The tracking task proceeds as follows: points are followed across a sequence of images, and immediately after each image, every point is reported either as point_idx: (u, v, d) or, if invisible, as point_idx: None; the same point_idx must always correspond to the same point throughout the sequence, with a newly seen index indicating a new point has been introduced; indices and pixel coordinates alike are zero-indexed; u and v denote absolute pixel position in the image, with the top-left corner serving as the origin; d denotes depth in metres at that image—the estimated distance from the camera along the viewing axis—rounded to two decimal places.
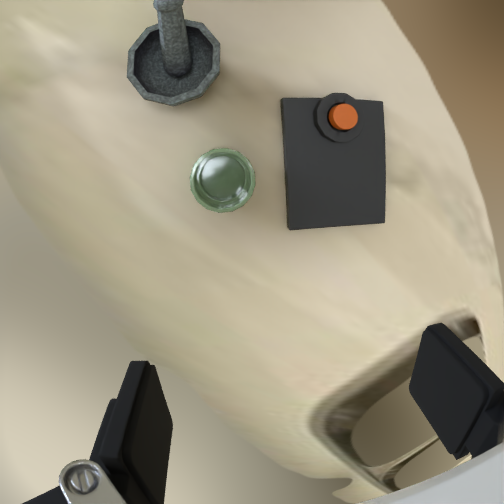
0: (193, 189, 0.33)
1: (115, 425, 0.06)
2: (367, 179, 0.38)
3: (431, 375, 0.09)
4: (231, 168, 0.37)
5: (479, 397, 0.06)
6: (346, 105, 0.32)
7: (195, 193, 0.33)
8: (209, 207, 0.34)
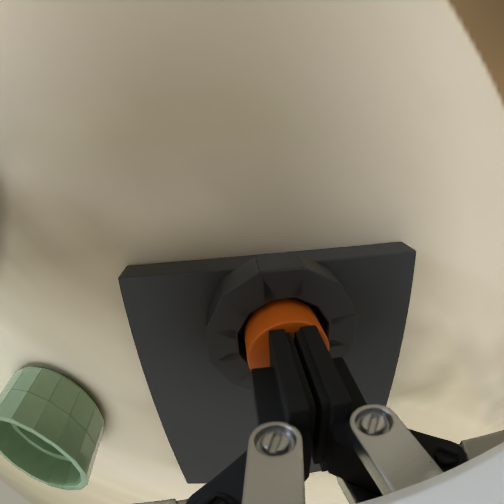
0: (1, 453, 0.12)
1: (290, 383, 0.08)
2: None
3: None
4: None
5: None
6: (294, 326, 0.11)
7: (7, 458, 0.12)
8: (34, 477, 0.12)
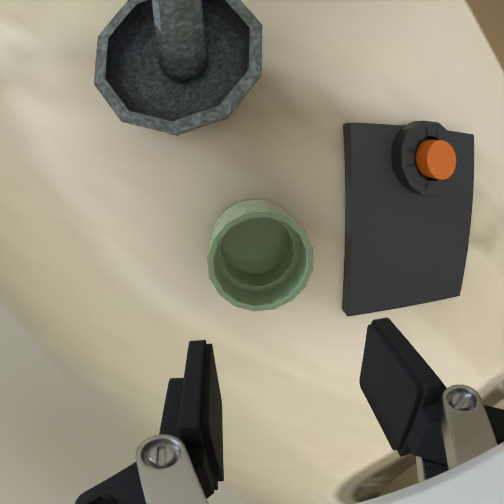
0: (213, 277, 0.21)
1: (189, 398, 0.07)
2: (449, 243, 0.25)
3: (375, 369, 0.10)
4: (268, 230, 0.25)
5: (414, 393, 0.07)
6: (443, 143, 0.20)
7: (216, 283, 0.21)
8: (239, 303, 0.21)
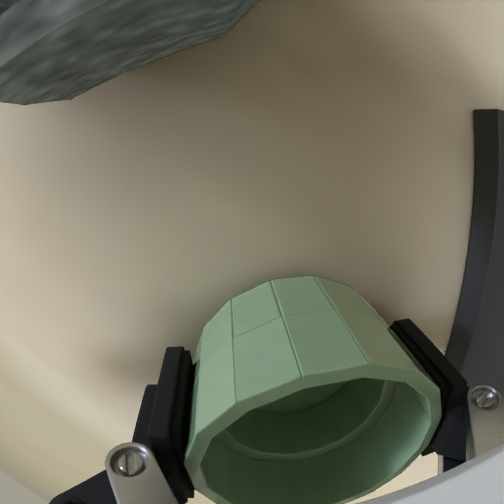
0: (203, 488, 0.07)
1: (160, 407, 0.07)
2: None
3: None
4: None
5: None
6: None
7: (212, 495, 0.07)
8: None
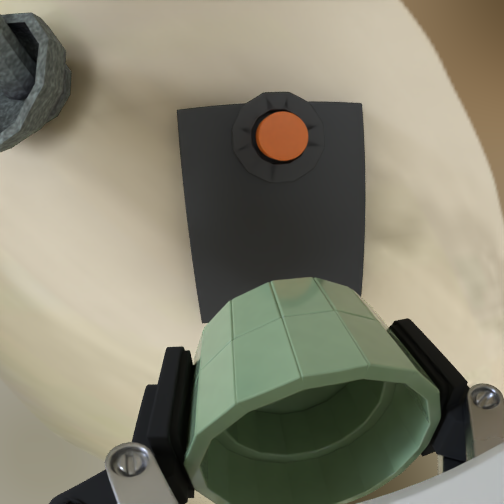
0: (203, 488, 0.07)
1: (160, 407, 0.07)
2: (332, 240, 0.23)
3: None
4: None
5: None
6: (285, 114, 0.17)
7: (212, 495, 0.07)
8: None
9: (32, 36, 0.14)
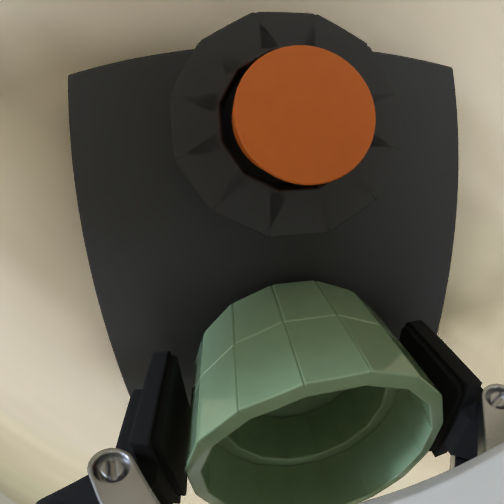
0: (205, 493, 0.07)
1: (143, 413, 0.07)
2: None
3: None
4: None
5: (454, 394, 0.07)
6: (312, 54, 0.05)
7: (213, 500, 0.07)
8: None
9: None
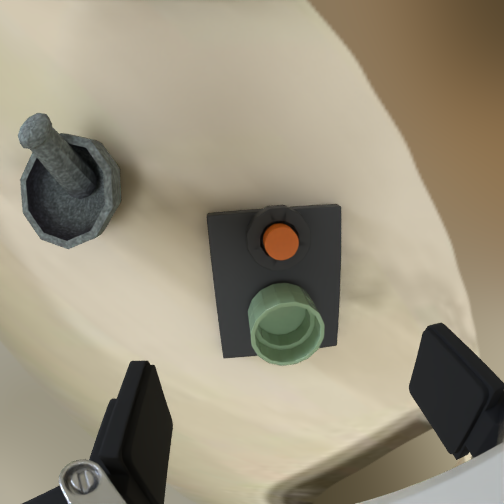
0: (254, 345, 0.28)
1: (115, 425, 0.06)
2: (315, 303, 0.33)
3: (431, 375, 0.09)
4: None
5: (479, 397, 0.06)
6: (283, 229, 0.28)
7: (256, 348, 0.29)
8: (271, 361, 0.29)
9: None
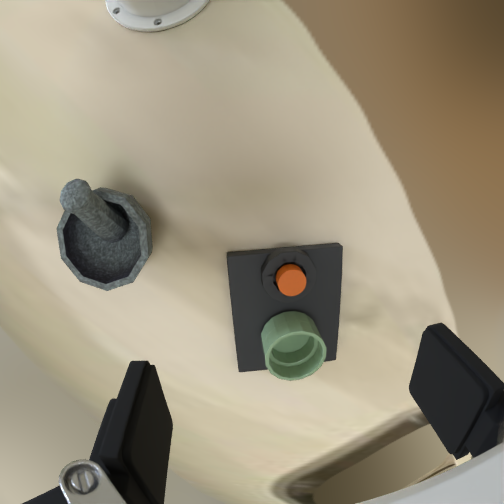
0: (268, 365, 0.34)
1: (115, 425, 0.06)
2: (318, 326, 0.38)
3: (431, 375, 0.09)
4: None
5: (479, 397, 0.06)
6: (293, 271, 0.33)
7: (269, 368, 0.34)
8: (282, 377, 0.34)
9: None
